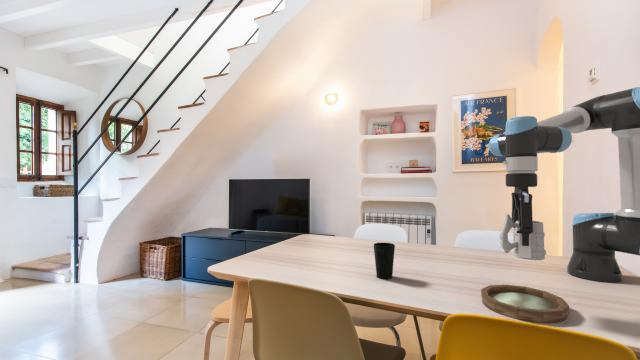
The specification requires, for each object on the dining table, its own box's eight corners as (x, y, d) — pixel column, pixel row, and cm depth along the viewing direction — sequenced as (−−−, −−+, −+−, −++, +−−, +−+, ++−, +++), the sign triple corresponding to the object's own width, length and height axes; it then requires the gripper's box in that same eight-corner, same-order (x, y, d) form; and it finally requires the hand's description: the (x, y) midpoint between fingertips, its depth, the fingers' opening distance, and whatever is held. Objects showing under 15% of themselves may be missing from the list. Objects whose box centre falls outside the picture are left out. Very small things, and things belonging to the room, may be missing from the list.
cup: (397, 275, 118) (396, 243, 118) (392, 281, 111) (392, 247, 111) (376, 273, 121) (376, 241, 121) (371, 278, 114) (371, 245, 114)
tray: (554, 299, 94) (554, 289, 94) (579, 328, 75) (579, 316, 75) (479, 290, 101) (479, 281, 101) (485, 315, 83) (485, 304, 83)
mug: (553, 260, 84) (553, 215, 84) (508, 260, 84) (508, 215, 84) (534, 254, 91) (533, 212, 92) (493, 254, 92) (492, 212, 92)
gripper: (500, 173, 99) (500, 246, 99) (512, 172, 80) (512, 261, 80) (528, 173, 96) (528, 248, 96) (547, 171, 78) (548, 264, 78)
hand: (521, 254), depth 88 cm, fingers closed on mug, 7 cm apart
